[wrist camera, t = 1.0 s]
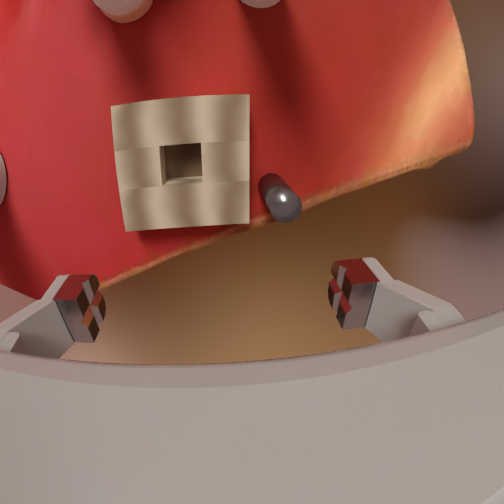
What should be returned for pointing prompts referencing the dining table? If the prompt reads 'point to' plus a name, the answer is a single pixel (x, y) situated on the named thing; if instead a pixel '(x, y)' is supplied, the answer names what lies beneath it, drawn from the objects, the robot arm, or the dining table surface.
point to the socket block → (183, 161)
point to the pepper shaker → (124, 9)
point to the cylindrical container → (260, 3)
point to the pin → (279, 198)
